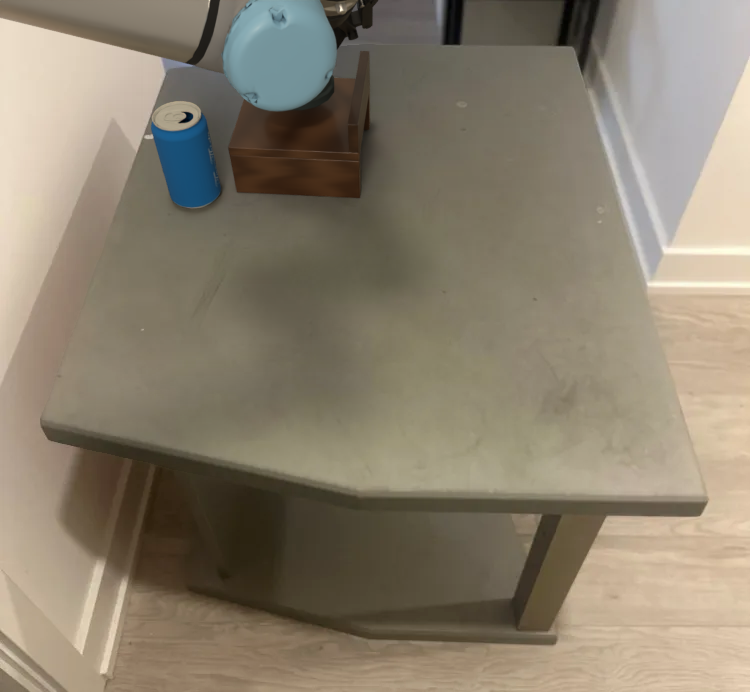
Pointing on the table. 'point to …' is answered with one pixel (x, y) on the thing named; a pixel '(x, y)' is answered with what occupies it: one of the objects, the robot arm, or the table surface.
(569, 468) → the table surface
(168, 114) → the beverage can
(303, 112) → the brown wooden box
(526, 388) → the table surface
